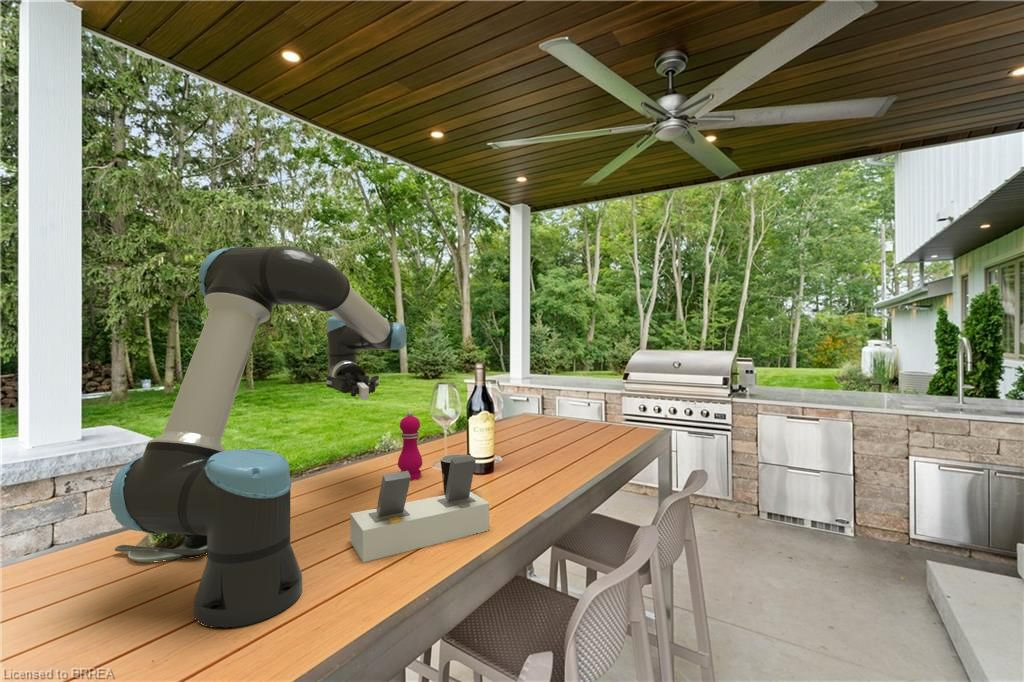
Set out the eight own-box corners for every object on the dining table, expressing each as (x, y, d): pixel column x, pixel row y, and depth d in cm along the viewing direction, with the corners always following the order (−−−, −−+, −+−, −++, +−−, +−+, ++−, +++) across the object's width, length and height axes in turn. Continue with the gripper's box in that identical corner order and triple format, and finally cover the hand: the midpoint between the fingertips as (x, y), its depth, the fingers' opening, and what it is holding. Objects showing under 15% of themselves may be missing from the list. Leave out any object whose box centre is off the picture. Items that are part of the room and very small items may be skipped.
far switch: (448, 501, 100) (454, 463, 97) (444, 496, 102) (451, 459, 99) (468, 497, 103) (475, 460, 100) (465, 492, 104) (472, 455, 102)
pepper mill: (403, 473, 144) (402, 408, 144) (425, 474, 143) (425, 409, 143) (394, 480, 137) (393, 412, 136) (417, 481, 136) (417, 413, 135)
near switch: (378, 517, 92) (385, 481, 88) (376, 510, 94) (383, 474, 90) (403, 512, 95) (410, 477, 91) (400, 505, 96) (408, 470, 92)
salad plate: (93, 577, 83) (92, 551, 83) (137, 537, 99) (136, 515, 99) (218, 560, 89) (218, 536, 89) (239, 524, 106) (239, 504, 106)
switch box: (363, 562, 87) (362, 528, 87) (350, 542, 96) (350, 511, 96) (489, 530, 101) (489, 500, 101) (468, 515, 110) (468, 488, 110)
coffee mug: (467, 502, 118) (467, 463, 118) (435, 500, 120) (435, 461, 120) (479, 488, 130) (479, 452, 130) (450, 486, 132) (450, 450, 131)
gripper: (373, 389, 128) (393, 408, 107) (322, 391, 121) (333, 411, 101) (374, 362, 127) (395, 376, 106) (322, 362, 121) (334, 377, 100)
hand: (365, 393), depth 103 cm, fingers closed
